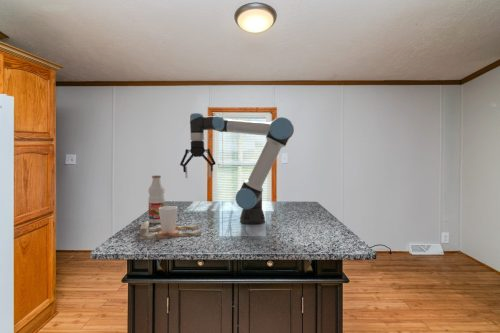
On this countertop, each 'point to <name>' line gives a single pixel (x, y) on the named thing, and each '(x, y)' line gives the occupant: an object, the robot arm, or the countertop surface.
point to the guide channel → (145, 230)
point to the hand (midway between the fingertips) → (198, 177)
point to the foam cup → (168, 218)
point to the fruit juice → (156, 199)
